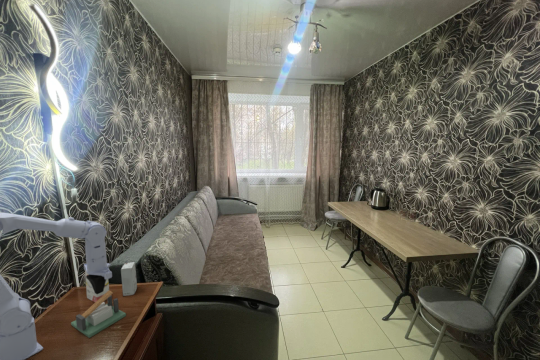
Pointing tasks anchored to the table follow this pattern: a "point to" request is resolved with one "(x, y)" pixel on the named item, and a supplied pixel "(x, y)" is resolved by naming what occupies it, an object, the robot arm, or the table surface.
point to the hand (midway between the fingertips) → (99, 292)
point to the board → (98, 327)
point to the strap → (96, 304)
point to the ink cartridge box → (90, 291)
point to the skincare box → (129, 278)
